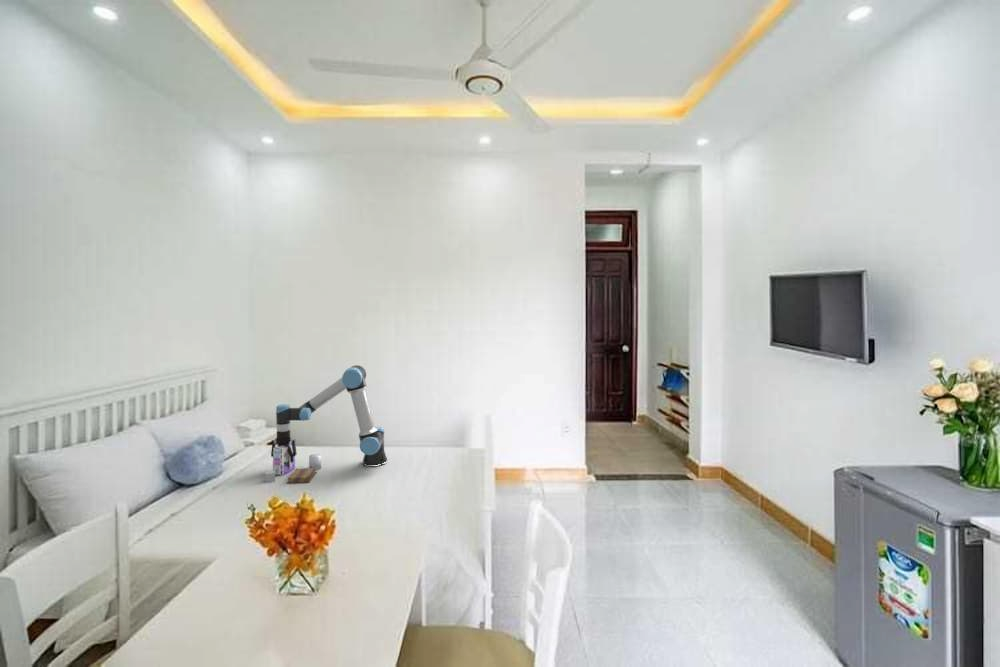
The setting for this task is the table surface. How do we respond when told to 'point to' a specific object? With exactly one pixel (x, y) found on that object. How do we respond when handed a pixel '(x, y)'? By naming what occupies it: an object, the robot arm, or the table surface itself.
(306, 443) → the table surface
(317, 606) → the table surface
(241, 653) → the table surface
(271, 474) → the grey box
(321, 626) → the table surface
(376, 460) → the robot arm
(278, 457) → the candy box
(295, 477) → the brown wooden board
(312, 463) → the light grey rounded block
